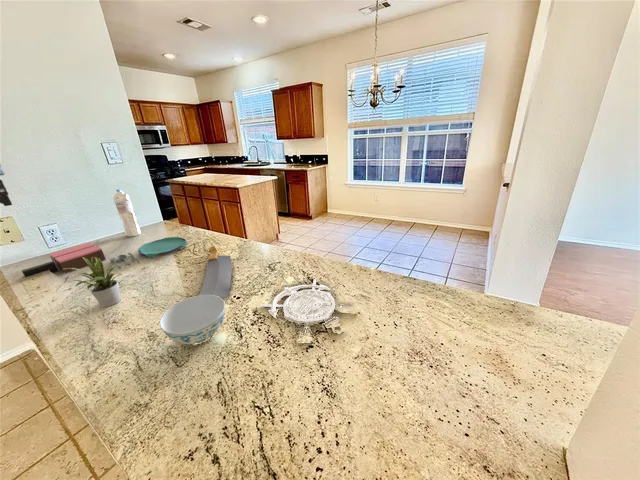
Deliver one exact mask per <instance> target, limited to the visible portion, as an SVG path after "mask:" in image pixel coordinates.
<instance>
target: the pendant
mask: <svg viewBox="0 0 640 480" xmlns="http://www.w3.org/2000/svg"><path fill="white" fill-rule="evenodd" d="M304 287H312V289H303V290H300V291H298V292H297V291H296V290H298V289H300V288H304ZM315 288H319V289H315ZM324 289H325V290H331V288H329V286H327V285H326V284H325V285H324V284H322V283H320V284H319V285H318V284H317V279H316V278H314V279H313V281H312V284H299V285H295V286H291V287H285V286H283V290H282V291H281V292H279V293H278V294H277V295H276V296H275V297H274V299H273V300H272V303H260V304H259V306H262V307H271V308H270V309H267V311H268V314H269V313H270V314H271V315H272V316H273V317H274V318H276V319H277V317H276V315H277V316H278V314H277V312H278V310H279V311H280V308H276V307H283V308H282V312H284V313H283V319H284V318H285V319H287V320H291V321H293V322H296V323H306V324H309V323H310V324H311V323H317V322H321V321H323V320H324V321H325V319H326V320H327V319H328V318H329V316H330V315H331V314H332V313H333V312H334V309H335V305H336V301H335V298H334V297H333V296H332V293H331V292H329V291H320V290H324ZM285 295H291V296H289V297H286V299H285V300H284V302H283V304H279V303H278V304H277V302H278V301H279V300H280V299H281V298H282V297H283V296H285ZM331 303H332V305H331ZM326 305H327V306H326ZM336 308H340V309H341V308H349V307H342V306H340V307H336ZM278 313H279V312H278ZM334 313H335V312H334ZM270 314H269V315H270ZM323 314H324V315H323ZM319 316H320V317H319ZM332 317H333V318H335V316H332ZM332 317H331V318H332ZM307 318H308V319H307ZM333 318H332V319H333ZM336 318H338V319H339V320H340V318H339V317H338V316H336ZM285 319H284V320H285ZM332 319H330V320H332ZM338 319H336V320H338ZM330 320H328V321H330ZM336 320H334V321H336ZM328 321H327V322H328ZM334 321H333V322H334ZM327 322H325V323H327ZM333 322H331V323H333ZM325 323H322V324H321V326H322V325H323V324H325ZM331 323H329V324H331ZM329 324H328V325H329ZM328 325H326V326H328ZM304 328H306V329H307V328H309V327H307V326H306V327H304ZM305 333H306V330H305Z"/></svg>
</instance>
